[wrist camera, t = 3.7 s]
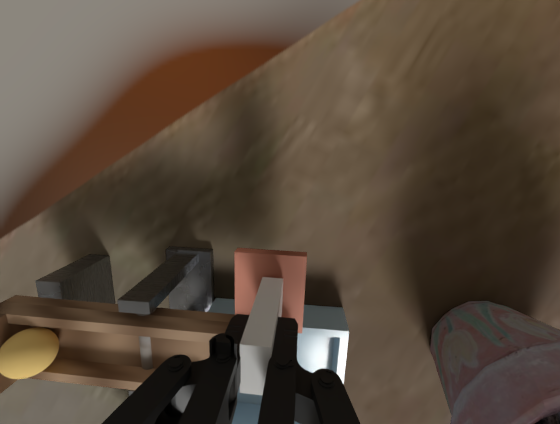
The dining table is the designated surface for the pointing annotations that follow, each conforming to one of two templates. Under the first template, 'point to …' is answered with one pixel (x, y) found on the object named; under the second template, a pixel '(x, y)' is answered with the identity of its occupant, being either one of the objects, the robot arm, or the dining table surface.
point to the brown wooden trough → (144, 326)
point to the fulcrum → (174, 284)
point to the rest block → (80, 281)
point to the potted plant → (497, 365)
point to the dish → (301, 349)
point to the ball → (28, 353)
